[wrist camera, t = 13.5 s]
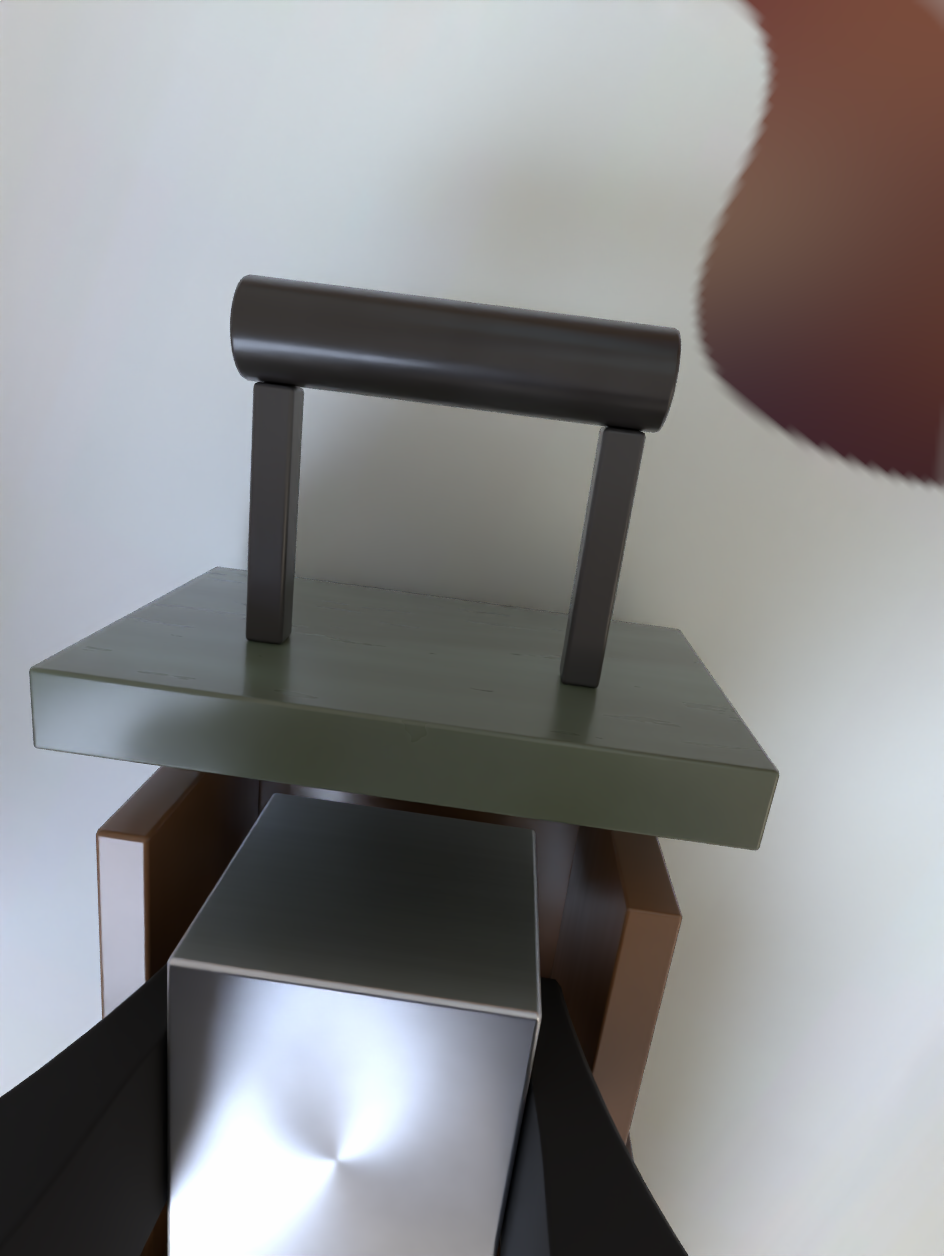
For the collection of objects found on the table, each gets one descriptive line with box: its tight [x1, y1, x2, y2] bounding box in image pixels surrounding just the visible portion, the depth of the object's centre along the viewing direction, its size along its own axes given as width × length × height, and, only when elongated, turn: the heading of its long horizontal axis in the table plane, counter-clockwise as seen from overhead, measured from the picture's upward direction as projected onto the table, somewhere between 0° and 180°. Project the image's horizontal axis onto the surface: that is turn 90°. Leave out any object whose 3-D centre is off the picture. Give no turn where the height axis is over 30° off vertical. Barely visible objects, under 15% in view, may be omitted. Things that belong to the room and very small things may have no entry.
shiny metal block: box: [167, 793, 542, 1256], centre depth 11 cm, size 6×4×4 cm
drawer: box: [29, 275, 779, 1256], centre depth 14 cm, size 18×10×6 cm, turn 173°
